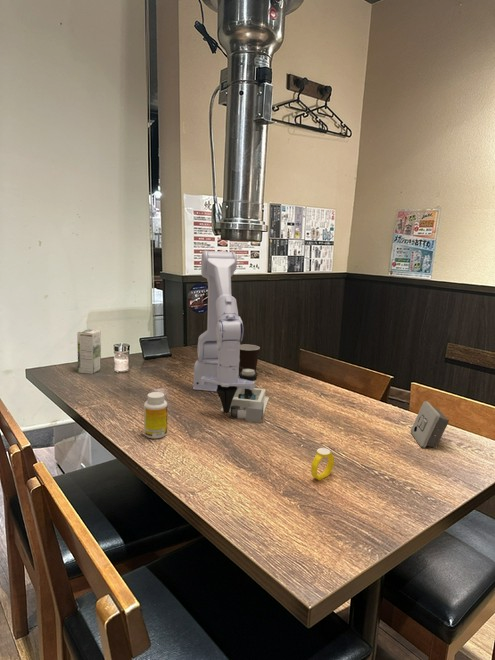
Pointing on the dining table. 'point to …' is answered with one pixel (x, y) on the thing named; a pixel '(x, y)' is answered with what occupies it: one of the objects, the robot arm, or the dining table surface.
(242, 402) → the dock
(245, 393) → the push button
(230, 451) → the dining table surface
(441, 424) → the electrical switch
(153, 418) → the supplement bottle
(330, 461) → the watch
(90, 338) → the syrup box
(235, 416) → the pin
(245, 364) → the coffee mug
